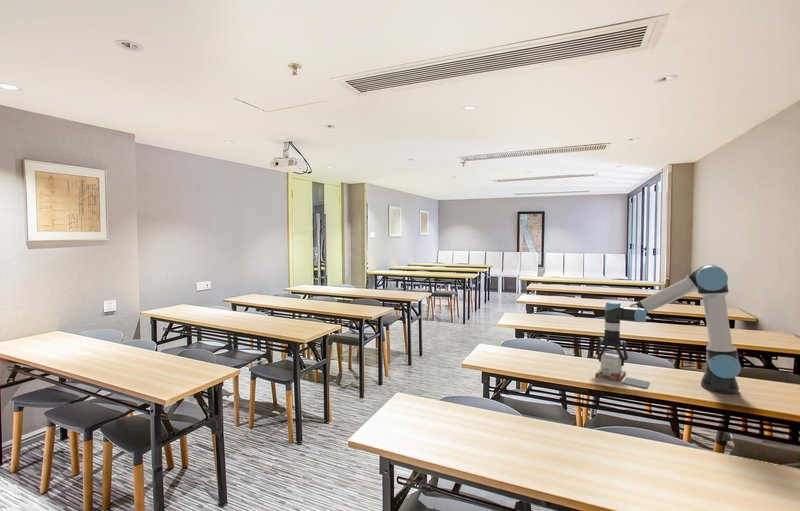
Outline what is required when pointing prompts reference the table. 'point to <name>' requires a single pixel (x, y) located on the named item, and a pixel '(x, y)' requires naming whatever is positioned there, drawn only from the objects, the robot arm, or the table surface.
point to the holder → (618, 379)
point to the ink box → (610, 364)
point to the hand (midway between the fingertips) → (611, 369)
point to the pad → (636, 382)
